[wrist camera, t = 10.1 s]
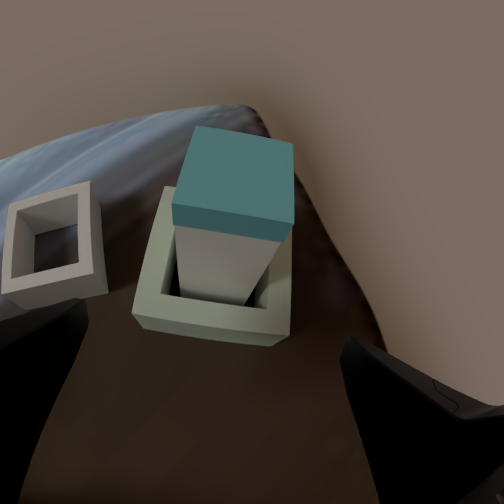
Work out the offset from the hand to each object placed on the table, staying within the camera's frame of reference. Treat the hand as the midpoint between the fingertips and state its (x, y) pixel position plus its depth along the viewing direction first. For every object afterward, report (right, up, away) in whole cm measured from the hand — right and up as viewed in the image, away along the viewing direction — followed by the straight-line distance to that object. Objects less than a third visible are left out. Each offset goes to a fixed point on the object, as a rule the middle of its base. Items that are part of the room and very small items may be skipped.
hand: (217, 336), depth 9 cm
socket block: (-2, 0, +14) cm, 14 cm away
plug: (-2, 0, +14) cm, 14 cm away
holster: (-15, +2, +12) cm, 19 cm away
